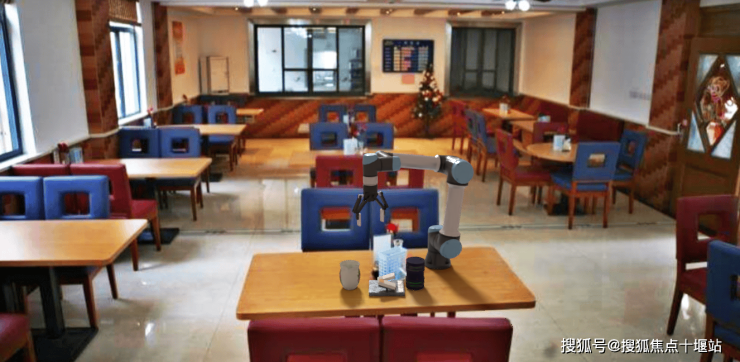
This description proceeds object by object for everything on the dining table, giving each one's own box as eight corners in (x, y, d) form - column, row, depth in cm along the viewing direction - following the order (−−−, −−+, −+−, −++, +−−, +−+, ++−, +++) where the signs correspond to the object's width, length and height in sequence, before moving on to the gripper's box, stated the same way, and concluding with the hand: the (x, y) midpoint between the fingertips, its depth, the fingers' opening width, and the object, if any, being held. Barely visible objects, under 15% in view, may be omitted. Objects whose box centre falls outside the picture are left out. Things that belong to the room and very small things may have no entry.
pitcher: (360, 279, 308) (360, 255, 305) (360, 293, 291) (360, 268, 288) (340, 279, 308) (339, 255, 305) (338, 293, 291) (338, 268, 288)
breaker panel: (403, 283, 303) (403, 277, 302) (404, 296, 288) (404, 289, 287) (369, 283, 303) (369, 277, 302) (368, 296, 288) (368, 289, 288)
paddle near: (394, 286, 293) (395, 283, 293) (394, 289, 289) (395, 286, 289) (377, 280, 293) (378, 277, 292) (377, 284, 288) (378, 281, 288)
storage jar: (409, 291, 294) (409, 264, 290) (402, 283, 303) (403, 257, 299) (427, 289, 296) (427, 262, 292) (420, 281, 305) (421, 255, 302)
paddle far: (394, 275, 300) (393, 272, 300) (395, 278, 296) (394, 275, 295) (378, 279, 301) (377, 276, 300) (378, 283, 296) (377, 280, 296)
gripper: (387, 179, 300) (387, 217, 305) (345, 185, 289) (345, 225, 294) (395, 182, 294) (395, 221, 299) (351, 188, 282) (352, 229, 288)
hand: (370, 223), depth 297 cm, fingers open, 13 cm apart
